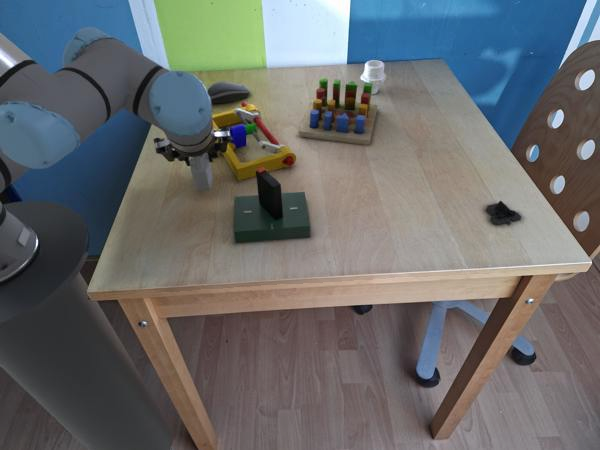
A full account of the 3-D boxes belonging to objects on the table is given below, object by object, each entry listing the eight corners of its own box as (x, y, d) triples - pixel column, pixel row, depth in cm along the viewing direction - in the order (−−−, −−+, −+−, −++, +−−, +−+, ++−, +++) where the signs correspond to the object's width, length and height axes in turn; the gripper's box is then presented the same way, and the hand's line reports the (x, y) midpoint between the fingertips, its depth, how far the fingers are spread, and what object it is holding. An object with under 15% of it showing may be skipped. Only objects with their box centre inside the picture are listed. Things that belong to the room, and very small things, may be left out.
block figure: (509, 193, 84) (527, 212, 80) (505, 202, 86) (523, 221, 82) (482, 199, 83) (500, 218, 79) (479, 208, 85) (496, 227, 81)
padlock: (194, 171, 93) (185, 131, 86) (213, 169, 93) (205, 129, 86) (193, 191, 88) (183, 151, 81) (213, 189, 88) (204, 149, 81)
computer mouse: (252, 97, 120) (251, 84, 117) (209, 106, 116) (207, 92, 114) (245, 87, 124) (243, 74, 121) (204, 95, 121) (201, 82, 118)
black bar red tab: (283, 217, 79) (280, 182, 74) (275, 220, 79) (273, 186, 73) (266, 200, 83) (262, 166, 77) (259, 203, 82) (255, 169, 76)
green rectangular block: (235, 243, 79) (233, 231, 77) (236, 207, 86) (234, 195, 84) (310, 237, 80) (310, 225, 77) (304, 202, 87) (304, 190, 85)
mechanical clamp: (248, 87, 111) (298, 144, 91) (251, 108, 115) (298, 167, 96) (179, 102, 105) (216, 167, 86) (184, 125, 110) (220, 190, 90)
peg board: (298, 137, 105) (297, 105, 99) (313, 103, 117) (313, 73, 111) (369, 145, 101) (372, 113, 95) (377, 110, 113) (380, 79, 108)
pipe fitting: (357, 87, 123) (359, 59, 118) (381, 85, 124) (384, 58, 118) (361, 97, 119) (364, 69, 113) (386, 95, 119) (390, 68, 114)
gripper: (237, 98, 69) (234, 134, 92) (130, 114, 66) (154, 147, 89) (247, 143, 69) (241, 168, 92) (139, 161, 66) (162, 182, 89)
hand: (199, 158), depth 91 cm, fingers closed on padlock, 4 cm apart
